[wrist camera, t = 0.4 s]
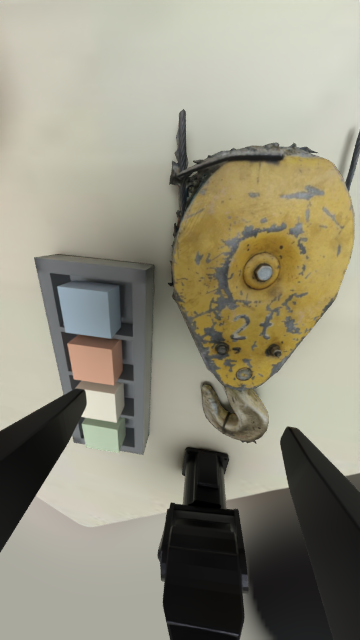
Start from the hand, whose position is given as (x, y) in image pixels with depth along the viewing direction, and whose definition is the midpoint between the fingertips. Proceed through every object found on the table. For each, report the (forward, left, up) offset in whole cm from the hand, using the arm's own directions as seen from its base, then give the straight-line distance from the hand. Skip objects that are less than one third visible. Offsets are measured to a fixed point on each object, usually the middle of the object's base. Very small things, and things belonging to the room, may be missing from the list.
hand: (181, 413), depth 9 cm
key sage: (-17, +10, -11) cm, 22 cm away
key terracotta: (-6, +10, -11) cm, 16 cm away
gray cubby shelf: (-8, +10, -13) cm, 18 cm away
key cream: (-11, +10, -11) cm, 18 cm away
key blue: (0, +10, -11) cm, 15 cm away
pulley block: (0, -4, -14) cm, 14 cm away
